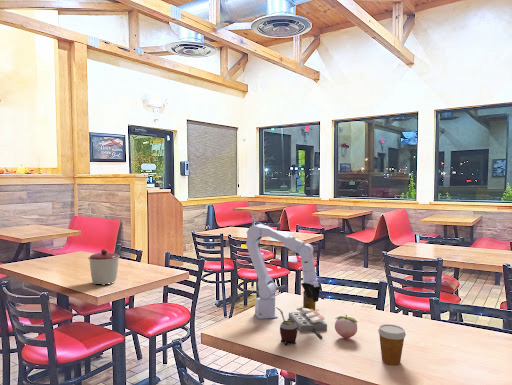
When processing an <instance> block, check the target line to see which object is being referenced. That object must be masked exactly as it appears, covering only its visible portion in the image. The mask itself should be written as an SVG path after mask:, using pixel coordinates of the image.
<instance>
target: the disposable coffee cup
mask: <svg viewBox="0 0 512 385" xmlns="http://www.w3.org/2000/svg"><path fill="white" fill-rule="evenodd" d="M377 331H378V334H379V343H380V354H381V361H382V362H383V363H385V364H386V363H387V364H386V365H390V366H398V365H397V364H399V365H400V364H401V361H402V354H403V347H404V341H405V337H406V335H407V334H406V331H405V329H404V328H403V327H401V326H400V325H396V324H390V323H389V324H388V323H387V324H381V325H379V328H378V329H377Z"/></svg>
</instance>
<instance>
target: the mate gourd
mask: <svg viewBox="0 0 512 385" xmlns="http://www.w3.org/2000/svg"><path fill="white" fill-rule="evenodd" d="M275 309H277V310H278V311H279V312H280V315H281V316H282V317H281V318H282V322H281V323H280V326H279V333H280V342H284V345H285V346H288V345H289V344H292V345H295V344H296V345H297V342H296V341H297V336H298V328H297V325H296V323H295V322H293V321H291V320H290V319H289V320H286V319H285V317H284V313H283V311H282V310H281V308H279V307H277V306H275Z"/></svg>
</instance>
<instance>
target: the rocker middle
mask: <svg viewBox="0 0 512 385" xmlns="http://www.w3.org/2000/svg"><path fill="white" fill-rule="evenodd" d="M320 315H321V314H320V312H319V311H315V312H311V313H308V314H306V317H307V318H308V319H309V318H313V317H316V316H320Z"/></svg>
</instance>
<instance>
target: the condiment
mask: <svg viewBox="0 0 512 385" xmlns="http://www.w3.org/2000/svg"><path fill="white" fill-rule="evenodd" d="M302 296H303V301H302V302H303V303H302V304H303V306H302V307H298V308H296V309H297V310H298V311H299V312H303V311H302V310H301V309H302V308H307V309H313V310H314V311H317V312H319V309H317V308H316V302H313V299H312V298H307V296H306V293H305V290H304V289H303V294H302Z"/></svg>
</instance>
